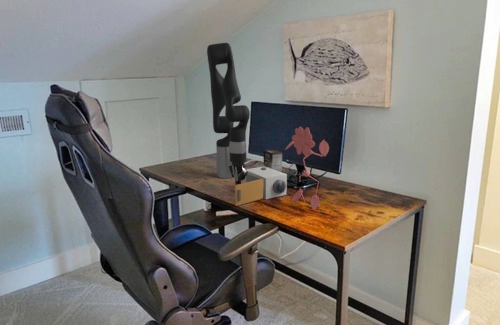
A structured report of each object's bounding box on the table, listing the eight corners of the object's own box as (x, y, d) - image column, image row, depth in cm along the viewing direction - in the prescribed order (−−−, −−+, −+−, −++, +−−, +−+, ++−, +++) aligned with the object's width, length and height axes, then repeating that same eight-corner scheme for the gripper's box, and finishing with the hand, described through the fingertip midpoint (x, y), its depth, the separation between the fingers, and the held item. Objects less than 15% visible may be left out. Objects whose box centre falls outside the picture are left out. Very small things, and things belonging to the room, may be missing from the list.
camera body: (244, 189, 189) (244, 168, 186) (264, 185, 195) (264, 164, 193) (268, 200, 173) (268, 177, 170) (289, 195, 179) (289, 173, 177)
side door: (237, 206, 164) (237, 186, 162) (234, 205, 166) (234, 185, 164) (265, 198, 174) (265, 179, 172) (263, 197, 175) (263, 178, 173)
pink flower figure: (293, 196, 178) (294, 121, 170) (335, 212, 158) (338, 128, 149) (267, 203, 170) (266, 125, 161) (308, 221, 149) (310, 133, 141)
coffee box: (262, 179, 205) (263, 150, 202) (273, 178, 208) (273, 149, 204) (271, 184, 198) (271, 153, 194) (282, 182, 200) (282, 152, 197)
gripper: (223, 149, 173) (223, 185, 177) (238, 154, 162) (239, 193, 167) (237, 147, 177) (237, 183, 181) (253, 152, 166) (253, 190, 171)
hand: (238, 188), depth 174 cm, fingers closed
